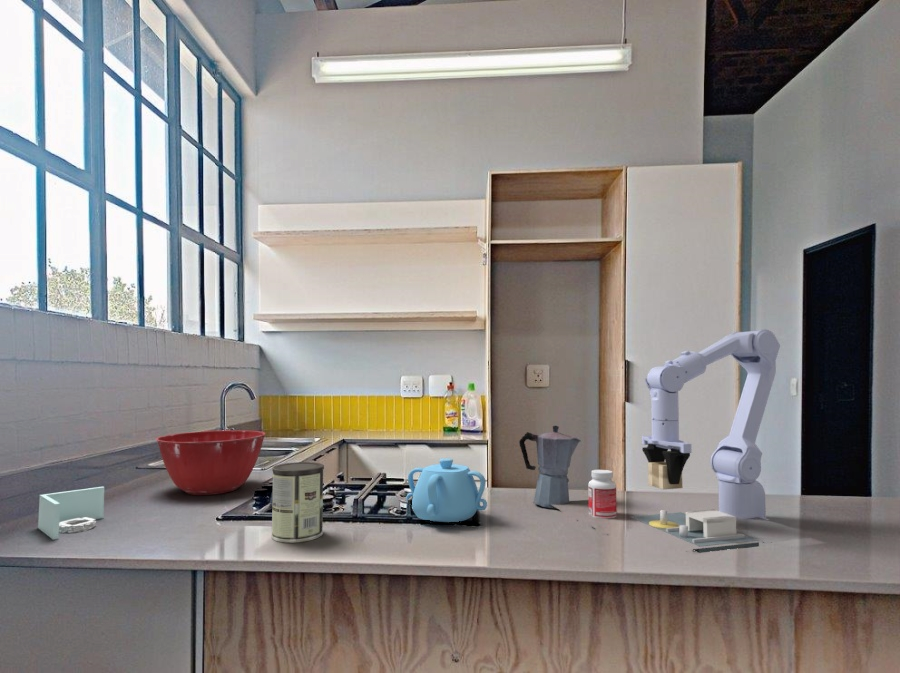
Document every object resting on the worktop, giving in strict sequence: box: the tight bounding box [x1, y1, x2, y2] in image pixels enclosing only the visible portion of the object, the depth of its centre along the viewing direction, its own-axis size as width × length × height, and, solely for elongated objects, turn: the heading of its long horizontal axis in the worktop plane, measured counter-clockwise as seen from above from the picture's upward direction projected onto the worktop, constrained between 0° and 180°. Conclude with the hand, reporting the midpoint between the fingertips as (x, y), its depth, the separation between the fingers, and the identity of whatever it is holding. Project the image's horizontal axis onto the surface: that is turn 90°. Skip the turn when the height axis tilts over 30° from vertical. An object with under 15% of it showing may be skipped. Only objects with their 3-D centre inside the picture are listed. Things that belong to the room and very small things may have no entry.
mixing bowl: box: [156, 429, 266, 496], centre depth 157 cm, size 28×28×15 cm
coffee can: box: [271, 461, 325, 544], centre depth 115 cm, size 10×10×14 cm
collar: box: [647, 461, 683, 490], centre depth 124 cm, size 5×5×5 cm
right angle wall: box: [37, 486, 105, 541], centre depth 119 cm, size 12×12×8 cm
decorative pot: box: [405, 457, 488, 523], centre depth 128 cm, size 16×16×14 cm
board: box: [630, 509, 760, 554], centre depth 117 cm, size 14×22×4 cm, turn 17°
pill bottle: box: [587, 469, 618, 520], centre depth 127 cm, size 6×6×11 cm
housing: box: [685, 509, 737, 538], centre depth 113 cm, size 7×6×4 cm
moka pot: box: [519, 425, 581, 509], centre depth 141 cm, size 10×15×20 cm, turn 89°
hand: (665, 481), depth 124 cm, fingers closed on collar, 5 cm apart
